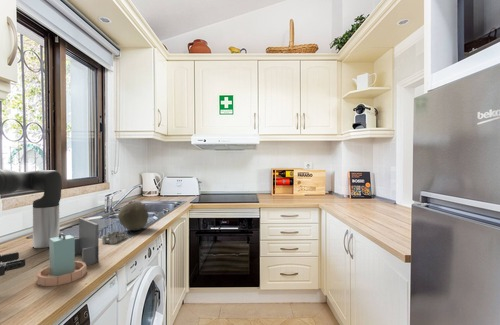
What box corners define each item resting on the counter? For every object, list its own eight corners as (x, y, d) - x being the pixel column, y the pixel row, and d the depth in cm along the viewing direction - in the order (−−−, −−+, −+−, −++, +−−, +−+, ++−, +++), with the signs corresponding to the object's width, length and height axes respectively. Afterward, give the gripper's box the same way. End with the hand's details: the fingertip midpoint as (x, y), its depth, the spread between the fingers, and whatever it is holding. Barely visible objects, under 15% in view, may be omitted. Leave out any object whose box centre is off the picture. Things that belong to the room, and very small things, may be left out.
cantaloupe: (137, 226, 147) (137, 200, 147) (153, 229, 140) (153, 202, 140) (113, 231, 135) (113, 203, 135) (129, 236, 128) (129, 205, 128)
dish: (51, 269, 88) (51, 262, 88) (92, 267, 90) (92, 260, 90) (27, 287, 76) (27, 279, 76) (74, 283, 78) (74, 275, 78)
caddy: (54, 280, 79) (53, 236, 79) (49, 275, 82) (49, 233, 82) (74, 274, 84) (74, 232, 83) (69, 270, 87) (69, 230, 87)
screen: (83, 266, 91) (83, 227, 91) (67, 255, 102) (67, 220, 102) (98, 262, 95) (98, 224, 95) (82, 251, 106) (81, 217, 106)
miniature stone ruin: (113, 245, 115) (113, 236, 115) (98, 244, 117) (98, 235, 117) (128, 238, 126) (128, 229, 126) (115, 237, 127) (115, 228, 127)
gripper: (-67, 270, 58) (27, 251, 71) (-67, 256, 67) (16, 241, 80) (-66, 303, 58) (27, 278, 71) (-67, 285, 67) (16, 265, 80)
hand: (21, 258), depth 75 cm, fingers open, 8 cm apart
